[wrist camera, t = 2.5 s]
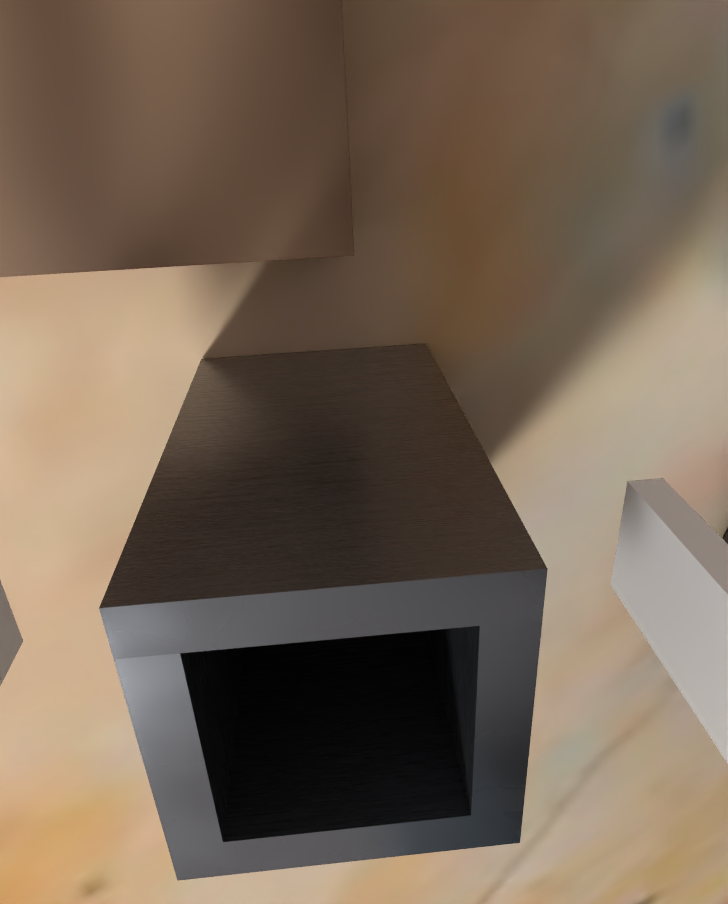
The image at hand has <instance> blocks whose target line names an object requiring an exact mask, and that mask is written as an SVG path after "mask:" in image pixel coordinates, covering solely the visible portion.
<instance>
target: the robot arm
mask: <svg viewBox="0 0 728 904" xmlns="http://www.w3.org/2000/svg"><path fill="white" fill-rule="evenodd" d="M611 587H612V588H613V590H614V591H615V593H616V594H617V596H618V597H619V599H620V600H621V602H622V603H623V605H624V606H625V608H626V609H627V611H628V612H629V614H630V616H631V617H632V619H633V620H634V622H635V623H636V625H637V626H638V628H639V629H640V631H641V632H642V634H643V635H644V637H645V638H646V640H647V641H648V643H649V645H650V646H651V648H652V649H653V651H654V652H655V654H656V655H657V657H658V658H659V660H660V661H661V663H662V664H663V666H664V667H665V669H666V670H667V672H668V673H669V675H670V677H671V678H672V680H673V681H674V683H675V684H676V686H677V687H678V689H679V690H680V692H681V693H682V695H683V696H684V698H685V699H686V701H687V702H688V704H689V705H690V707H691V709H692V710H693V712H694V713H695V715H696V716H697V718H698V719H699V721H700V722H701V724H702V725H703V727H704V728H705V730H706V731H707V733H708V734H709V736H710V737H711V739H712V741H713V742H714V744H715V745H716V747H717V748H718V750H719V751H720V753H721V754H722V756H723V757H724V759H725V760H726V762H727V763H728V531H727V533H726V534H725V536H724V538H723V539H722V538H721V537H720V536H719V535H718V534H717V533H716V532H715V531H714V530H713V529H712V528H711V527H710V526H709V525H708V524H707V523H706V522H705V521H704V520H703V519H702V518H701V516H700V515H699V514H698V513H697V512H696V511H695V510H694V509H693V508H692V507H691V506H690V505H689V504H688V503H687V502H686V501H685V500H684V499H683V498H682V497H681V496H680V495H679V494H678V493H677V492H676V491H675V490H674V489H673V488H672V487H671V486H670V485H669V484H668V483H667V482H666V481H665V480H664V479H663V478H660V479H648V480H636V481H627V488H626V494H625V500H624V506H623V512H622V518H621V524H620V530H619V537H618V543H617V549H616V555H615V561H614V567H613V573H612V579H611ZM22 642H23V640H22V637H21V634H20V632H19V629H18V626H17V624H16V621H15V618H14V616H13V613H12V610H11V608H10V605H9V602H8V600H7V597H6V594H5V592H4V589H3V586H2V584H1V581H0V685H1V683H2V681H3V680H4V678H5V676H6V674H7V672H8V670H9V668H10V666H11V664H12V662H13V660H14V658H15V656H16V654H17V652H18V650H19V648H20V646H21V644H22Z"/></svg>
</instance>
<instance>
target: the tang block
mask: <svg viewBox="0 0 728 904" xmlns="http://www.w3.org/2000/svg"><path fill="white" fill-rule="evenodd" d="M351 255H354V245H353V225H352V205H351V185H350V165H349V145H348V125H347V104H346V84H345V64H344V44H343V24H342V4H341V0H0V277H8V276H25V275H41V274H57V273H74V272H90V271H106V270H123V269H139V268H155V267H172V266H188V265H204V264H220V263H237V262H253V261H269V260H286V259H302V258H318V257H335V256H351Z"/></svg>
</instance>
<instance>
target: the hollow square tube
mask: <svg viewBox="0 0 728 904" xmlns="http://www.w3.org/2000/svg"><path fill="white" fill-rule="evenodd" d="M546 577H547V567H546V565H545V563H544V562H543V560H542V558H541V556H540V554H539V552H538V550H537V549H536V547H535V545H534V543H533V541H532V539H531V538H530V536H529V534H528V532H527V530H526V528H525V526H524V525H523V523H522V521H521V519H520V517H519V515H518V513H517V512H516V510H515V508H514V506H513V504H512V502H511V500H510V499H509V497H508V495H507V493H506V491H505V489H504V488H503V486H502V484H501V482H500V480H499V478H498V476H497V475H496V473H495V471H494V469H493V467H492V465H491V463H490V462H489V460H488V458H487V456H486V454H485V452H484V450H483V449H482V447H481V445H480V443H479V441H478V439H477V438H476V436H475V434H474V432H473V430H472V428H471V426H470V425H469V423H468V421H467V419H466V417H465V415H464V413H463V412H462V410H461V408H460V406H459V404H458V402H457V400H456V399H455V397H454V395H453V393H452V391H451V389H450V388H449V386H448V384H447V382H446V380H445V378H444V376H443V375H442V373H441V371H440V369H439V367H438V365H437V363H436V362H435V360H434V358H433V356H432V354H431V352H430V350H429V349H428V347H427V345H426V344H413V345H399V346H384V347H370V348H355V349H341V350H326V351H312V352H297V353H283V354H268V355H254V356H239V357H225V358H210V359H201V361H200V364H199V366H198V369H197V371H196V374H195V376H194V378H193V381H192V383H191V386H190V388H189V391H188V393H187V395H186V398H185V400H184V403H183V405H182V408H181V410H180V413H179V415H178V417H177V420H176V422H175V425H174V427H173V430H172V432H171V434H170V437H169V439H168V442H167V444H166V447H165V449H164V452H163V454H162V456H161V459H160V461H159V464H158V466H157V469H156V471H155V473H154V476H153V478H152V481H151V483H150V486H149V488H148V491H147V493H146V495H145V498H144V500H143V503H142V505H141V508H140V510H139V512H138V515H137V517H136V520H135V522H134V525H133V527H132V530H131V532H130V534H129V537H128V539H127V542H126V544H125V547H124V549H123V551H122V554H121V556H120V559H119V561H118V564H117V566H116V568H115V571H114V573H113V576H112V578H111V581H110V583H109V586H108V588H107V590H106V593H105V595H104V598H103V600H102V603H101V605H100V607H99V609H100V613H101V616H102V620H103V623H104V627H105V630H106V634H107V637H108V641H109V644H110V647H111V651H112V654H113V658H114V661H115V665H116V668H117V672H118V675H119V679H120V682H121V686H122V689H123V693H124V696H125V699H126V703H127V706H128V710H129V713H130V717H131V720H132V724H133V727H134V731H135V734H136V738H137V741H138V745H139V748H140V752H141V755H142V758H143V762H144V765H145V769H146V772H147V776H148V779H149V783H150V786H151V790H152V793H153V797H154V800H155V804H156V807H157V810H158V814H159V817H160V821H161V824H162V828H163V831H164V835H165V838H166V842H167V845H168V849H169V852H170V856H171V859H172V863H173V866H174V869H175V873H176V876H177V880H186V879H195V878H204V877H214V876H223V875H232V874H241V873H250V872H259V871H268V870H277V869H286V868H295V867H304V866H313V865H322V864H331V863H340V862H349V861H358V860H367V859H376V858H385V857H395V856H404V855H413V854H422V853H431V852H440V851H449V850H458V849H467V848H476V847H485V846H494V845H503V844H512V843H520V836H521V826H522V816H523V806H524V796H525V786H526V776H527V766H528V756H529V746H530V736H531V726H532V716H533V707H534V697H535V687H536V677H537V667H538V657H539V647H540V637H541V627H542V617H543V607H544V597H545V587H546Z"/></svg>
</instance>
